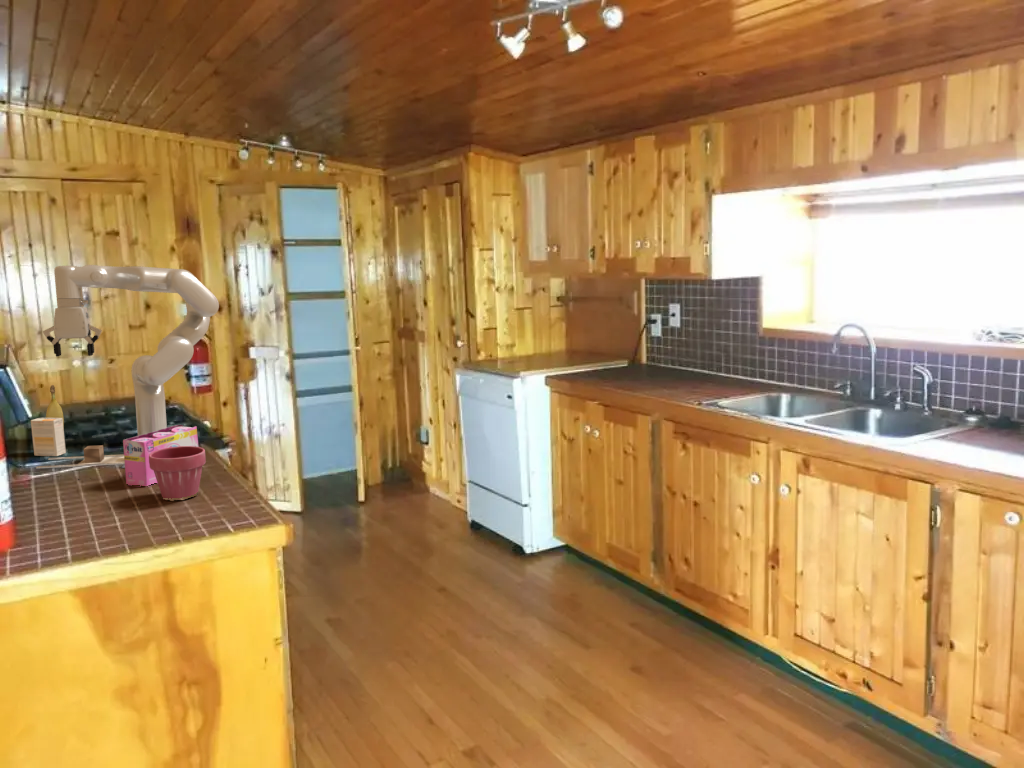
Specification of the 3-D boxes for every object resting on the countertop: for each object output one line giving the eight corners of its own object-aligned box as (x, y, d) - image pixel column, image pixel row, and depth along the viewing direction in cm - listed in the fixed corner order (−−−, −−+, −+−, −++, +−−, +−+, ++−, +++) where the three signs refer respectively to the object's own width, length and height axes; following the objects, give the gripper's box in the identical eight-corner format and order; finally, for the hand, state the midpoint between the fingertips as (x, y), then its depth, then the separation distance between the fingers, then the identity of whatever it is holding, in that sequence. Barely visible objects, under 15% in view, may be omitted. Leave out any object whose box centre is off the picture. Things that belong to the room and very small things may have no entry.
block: (104, 458, 255) (103, 445, 254) (100, 462, 251) (99, 448, 250) (88, 459, 254) (87, 445, 253) (84, 463, 250) (83, 449, 249)
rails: (149, 457, 262) (149, 453, 261) (140, 466, 250) (140, 462, 250) (49, 462, 255) (49, 457, 255) (36, 472, 244) (35, 467, 243)
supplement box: (66, 456, 263) (63, 417, 261) (57, 459, 259) (53, 420, 257) (43, 455, 264) (40, 417, 262) (33, 459, 260) (30, 419, 257)
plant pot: (147, 506, 211) (144, 459, 209) (156, 491, 224) (153, 447, 222) (204, 502, 214) (202, 456, 212) (210, 487, 228) (207, 444, 226)
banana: (58, 451, 270) (53, 393, 266) (39, 453, 267) (33, 394, 264) (67, 437, 290) (62, 384, 287) (48, 439, 288) (43, 384, 285)
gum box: (183, 465, 253) (180, 423, 251) (203, 467, 250) (201, 425, 248) (125, 485, 230) (121, 439, 228) (147, 487, 228) (143, 441, 226)
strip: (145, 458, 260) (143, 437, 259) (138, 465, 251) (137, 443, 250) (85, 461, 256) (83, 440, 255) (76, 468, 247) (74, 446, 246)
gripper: (102, 302, 264) (106, 353, 267) (45, 303, 260) (49, 355, 263) (95, 304, 257) (99, 356, 259) (36, 304, 253) (41, 357, 256)
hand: (74, 355), depth 261 cm, fingers open, 9 cm apart
